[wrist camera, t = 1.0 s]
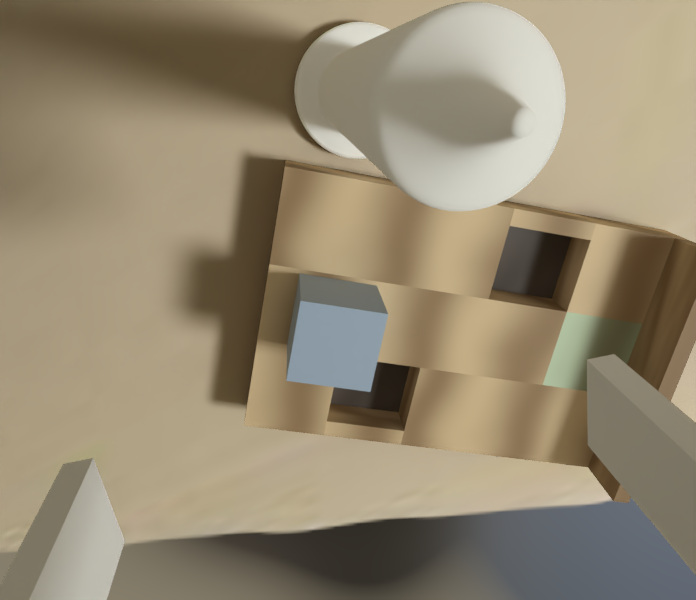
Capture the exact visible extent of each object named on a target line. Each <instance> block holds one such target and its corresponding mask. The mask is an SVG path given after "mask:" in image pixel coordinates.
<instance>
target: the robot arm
mask: <svg viewBox="0 0 696 600" xmlns="http://www.w3.org/2000/svg"><path fill="white" fill-rule="evenodd" d="M587 425H588V446H589V447H590V448H591V450H592V451H593V452H594V453H595V454H596V456H597V457H598V458H599V459H600V460H601V462H602V463H603V464H604V465H605V466H606V468H607V469H608V470H609V471H610V472H611V474H612V475H613V476H614V477H615V479H616V480H617V481H618V482H619V483H620V485H621V486H622V487H623V488H624V489H625V491H626V492H627V493H628V494H629V495H630V497H631V498H632V499H633V500H634V501H635V503H636V504H637V505H638V506H639V507H640V509H641V510H642V511H643V512H644V513H645V515H646V516H647V517H648V518H649V519H650V521H651V522H652V523H653V524H654V525H655V526H656V528H657V529H658V530H659V532H660V533H661V534H662V535H663V536H664V537H665V539H666V540H667V541H668V542H669V543H670V545H671V546H672V547H673V548H674V549H675V551H676V552H677V553H678V554H679V556H680V557H681V558H682V559H683V560H684V561H685V563H686V564H687V565H688V566H689V568H690V569H691V570H692V571H693V572H694V573H695V575H696V423H695V422H694V421H693V420H692V419H691V418H689V417H688V416H687V415H686V414H685V413H683V412H682V411H681V410H680V409H679V408H678V407H676V406H675V405H674V404H673V403H672V402H670V401H669V400H668V399H667V398H666V397H665V396H663V395H662V394H661V393H660V392H659V391H657V390H656V389H655V388H654V387H653V386H652V385H650V384H649V383H648V382H647V381H646V380H644V379H643V378H642V377H641V376H640V375H639V374H637V373H636V372H635V371H634V370H633V369H631V368H630V367H629V366H628V365H627V364H625V363H624V362H623V361H622V360H621V359H620V358H618V357H617V356H616V355H615V354H612V355H607V356H602V357H597V358H592V359H587ZM124 542H125V540H124V538H123V535H122V532H121V530H120V527H119V525H118V522H117V519H116V517H115V514H114V511H113V509H112V506H111V503H110V501H109V498H108V495H107V493H106V490H105V488H104V485H103V482H102V480H101V477H100V474H99V472H98V469H97V466H96V464H95V461H94V459H93V458H91V459H86V460H81V461H76V462H71V463H66V464H63V466H62V467H61V469H60V471H59V473H58V475H57V477H56V479H55V481H54V483H53V485H52V487H51V489H50V490H49V492H48V494H47V496H46V498H45V500H44V502H43V504H42V506H41V508H40V510H39V512H38V513H37V515H36V517H35V519H34V521H33V523H32V525H31V527H30V529H29V531H28V533H27V535H26V537H25V538H24V540H23V542H22V544H21V546H20V548H19V550H18V552H17V554H16V556H15V558H14V560H13V562H12V563H11V565H10V567H9V569H8V571H7V573H6V575H5V577H4V579H3V581H2V583H1V584H0V600H107V597H108V593H109V590H110V587H111V584H112V581H113V577H114V574H115V571H116V568H117V564H118V561H119V558H120V554H121V551H122V548H123V545H124Z"/></svg>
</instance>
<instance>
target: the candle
mask: <svg viewBox="0 0 696 600" xmlns="http://www.w3.org/2000/svg"><path fill="white" fill-rule="evenodd" d="M294 94H295V103H296V108H297V112H298V115H299V117H300V120H301V122H302V124H303V126H304V127H305V129H306V131H307V132H308V133H309V135H310V136H311V137H312V138H313V139H314V140H315V141H316V142H317V143H318V144H319V145H320V146H322V147H323V148H324V149H326V150H328V151H329V152H331V153H333V154H336V155H338V156H341V157H345V158H351V159H366V158H368V159H369V160H370V161H371V162H372V163H373V164H374V165H375V166H376V167H377V168H378V169H379V170H380V171H382V172H383V173H384V174H385V175H386V176H387V177H388V178H389V179H390V180H391V181H392V182H393V183H394V184H395V185H396V186H397V187H398V188H400V189H401V190H402V191H403V192H404V193H406V194H407V195H408V196H410V197H411V198H413V199H415V200H416V201H418V202H420V203H422V204H424V205H427V206H430V207H433V208H437V209H441V210H447V211H472V210H479V209H483V208H487V207H490V206H493V205H496V204H498V203H500V202H503V201H505V200H507V199H508V198H510V197H512V196H513V195H515V194H516V193H518V192H519V191H521V190H522V189H523V188H524V187H525V186H527V185H528V184H529V183H530V182H531V181H532V180H533V179H534V178H535V177H536V176H537V175H538V173H539V172H540V171H541V170H542V168H543V167H544V165H545V164H546V163H547V161H548V159H549V158H550V156H551V154H552V152H553V150H554V148H555V146H556V144H557V141H558V139H559V136H560V133H561V129H562V125H563V121H564V115H565V104H566V100H565V84H564V79H563V74H562V70H561V67H560V64H559V61H558V59H557V56H556V54H555V52H554V51H553V49H552V47H551V45H550V44H549V42H548V41H547V39H546V38H545V37H544V35H543V34H542V33H541V32H540V31H539V30H538V29H537V28H536V27H535V26H534V25H533V24H532V23H531V22H529V21H528V20H527V19H525V18H524V17H522V16H521V15H519V14H517V13H515V12H513V11H511V10H509V9H507V8H504V7H501V6H498V5H495V4H490V3H483V2H463V3H455V4H451V5H447V6H444V7H441V8H438V9H436V10H433V11H431V12H429V13H427V14H425V15H423V16H420V17H418V18H416V19H414V20H412V21H409V22H407V23H405V24H403V25H401V26H399V27H396V28H394V29H392V30H389V29H387V28H385V27H383V26H381V25H377V24H374V23H369V22H350V23H345V24H341V25H339V26H336V27H334V28H332V29H330V30H328V31H326V32H325V33H323V34H322V35H321V36H319V37H318V38H317V39H316V40H315V41H314V42H313V43H312V44H311V46H310V47H309V48H308V50H307V51H306V52H305V54H304V56H303V58H302V60H301V62H300V64H299V67H298V70H297V73H296V78H295V87H294Z"/></svg>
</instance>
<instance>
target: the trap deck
mask: <svg viewBox="0 0 696 600" xmlns="http://www.w3.org/2000/svg"><path fill="white" fill-rule="evenodd" d="M300 273H301V274H307V275H313V276H320V277H326V278H332V279H339V280H345V281H351V282H357V283H364V284H370V285H376V286H377V287H378V290H379V292H380V295H381V297H382V300H383V302H384V305H385V307H386V310H387V312H388V318H387V322H386V326H385V331H384V335H383V339H382V344H381V348H380V352H379V357H378V361H377V365H376V370H375V374H374V378H373V383H372V387H371V391H370V392H367V391H359V390H352V389H344V388H337V387H329V386H322V385H314V384H307V383H299V382H292V381H286V370H287V342H288V337H289V331H290V325H291V320H292V314H293V308H294V303H295V297H296V291H297V285H298V280H299V274H300ZM695 341H696V243H694V242H692V241H689V240H687V239H684V238H682V237H680V236H677V235H675V234H672V233H670V232H668V231H664V230H659V229H654V228H648V227H643V226H637V225H632V224H627V223H621V222H616V221H611V220H605V219H600V218H594V217H589V216H584V215H578V214H573V213H567V212H562V211H557V210H551V209H546V208H541V207H535V206H530V205H524V204H519V203H514V202H508V201H503V202H500V203H498V204H496V205H493V206H490V207H487V208H483V209H479V210H472V211H447V210H441V209H437V208H433V207H430V206H427V205H424V204H422V203H420V202H418V201H416V200H415V199H413V198H411V197H410V196H408V195H407V194H406V193H404V192H403V191H402V190H401V189H400V188H398V187H397V186H396V185H395V184H394V183H393V182H392V181H391V180H390V179H384V178H379V177H374V176H368V175H363V174H357V173H352V172H347V171H341V170H336V169H330V168H325V167H320V166H314V165H309V164H304V163H298V162H293V161H287V160H285V166H284V173H283V179H282V185H281V192H280V198H279V204H278V211H277V217H276V223H275V230H274V236H273V242H272V249H271V255H270V261H269V268H268V274H267V280H266V287H265V293H264V299H263V306H262V312H261V318H260V325H259V331H258V337H257V344H256V350H255V356H254V363H253V369H252V375H251V382H250V388H249V394H248V401H247V407H246V414H245V422H244V425H245V426H253V427H262V428H270V429H278V430H286V431H294V432H303V433H311V434H319V435H327V436H336V437H344V438H352V439H360V440H369V441H377V442H385V443H393V444H402V445H410V446H418V447H426V448H435V449H443V450H451V451H459V452H468V453H476V454H484V455H492V456H500V457H509V458H517V459H525V460H533V461H542V462H550V463H558V464H566V465H575V466H583V467H588V468H589V469H590V470H591V472H592V473H593V474H594V476H595V477H596V478H597V480H598V481H599V482H600V484H601V485H602V486H603V488H604V489H605V490H606V492H607V493H608V494H609V496H610V497H611V498H612V500H613V501H617V502H626V503H629V500H630V498H631V497H630V495H629V494H628V493H627V492H626V491H625V489H624V488H623V487H622V486H621V485H620V483H619V482H618V481H617V480H616V479H615V477H614V476H613V475H612V474H611V472H610V471H609V470H608V469H607V468H606V466H605V465H604V464H603V463H602V462H601V460H600V459H599V458H598V457H597V456H596V454H595V453H594V452H593V451H592V450H591V448H590V447H589V446H588V425H587V359H592V358H597V357H602V356H607V355H612V354H615V355H616V356H617V357H618V358H620V359H621V360H622V361H623V362H624V363H625V364H627V365H628V366H629V367H630V368H631V369H633V370H634V371H635V372H636V373H637V374H639V375H640V376H641V377H642V378H643V379H644V380H646V381H647V382H648V383H649V384H650V385H652V386H653V387H654V388H655V389H656V390H657V391H659V392H660V393H661V394H662V395H663V396H665V397H666V398H667V399H668V400H669V401H671V399H672V396H673V394H674V392H675V389H676V387H677V384H678V382H679V380H680V377H681V375H682V372H683V370H684V367H685V365H686V363H687V360H688V358H689V355H690V353H691V351H692V348H693V346H694V343H695Z"/></svg>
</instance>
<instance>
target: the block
mask: <svg viewBox="0 0 696 600" xmlns="http://www.w3.org/2000/svg"><path fill="white" fill-rule="evenodd" d="M387 318H388V312H387V310H386V307H385V305H384V302H383V300H382V297H381V295H380V292H379V290H378V287H377V286H376V285H370V284H364V283H357V282H351V281H345V280H339V279H332V278H326V277H320V276H313V275H307V274H301V273H300V274H299V280H298V285H297V291H296V297H295V303H294V308H293V314H292V320H291V325H290V331H289V337H288V342H287V370H286V381H292V382H299V383H307V384H314V385H322V386H329V387H337V388H344V389H352V390H359V391H367V392H370V391H371V387H372V383H373V378H374V374H375V370H376V365H377V361H378V357H379V352H380V348H381V344H382V339H383V335H384V331H385V326H386V322H387Z"/></svg>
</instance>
